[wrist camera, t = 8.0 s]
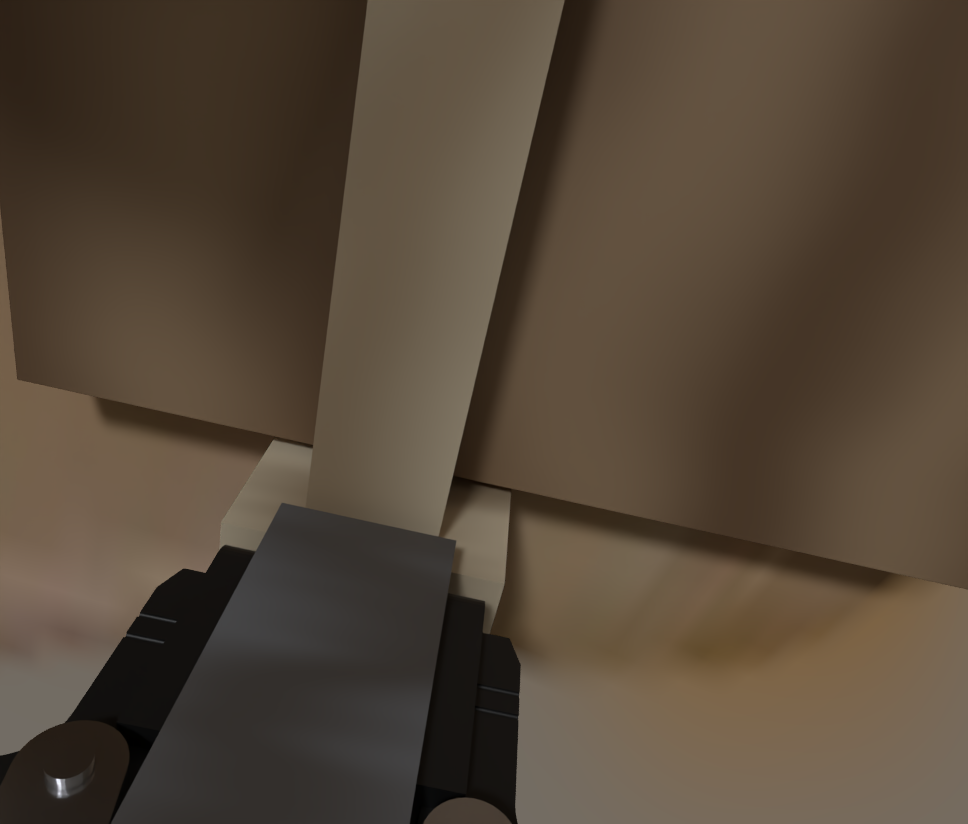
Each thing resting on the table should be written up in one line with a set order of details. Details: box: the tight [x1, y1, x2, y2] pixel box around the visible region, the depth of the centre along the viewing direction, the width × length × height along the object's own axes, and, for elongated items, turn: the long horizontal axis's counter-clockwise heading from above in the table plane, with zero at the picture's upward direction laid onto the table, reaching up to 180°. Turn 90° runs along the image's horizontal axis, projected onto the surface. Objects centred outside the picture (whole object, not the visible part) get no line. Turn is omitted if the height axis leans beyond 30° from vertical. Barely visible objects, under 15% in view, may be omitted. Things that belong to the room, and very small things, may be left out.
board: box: [0, 0, 968, 589], centre depth 13 cm, size 30×14×2 cm, turn 78°
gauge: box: [111, 0, 565, 824], centre depth 10 cm, size 5×13×10 cm, turn 168°
